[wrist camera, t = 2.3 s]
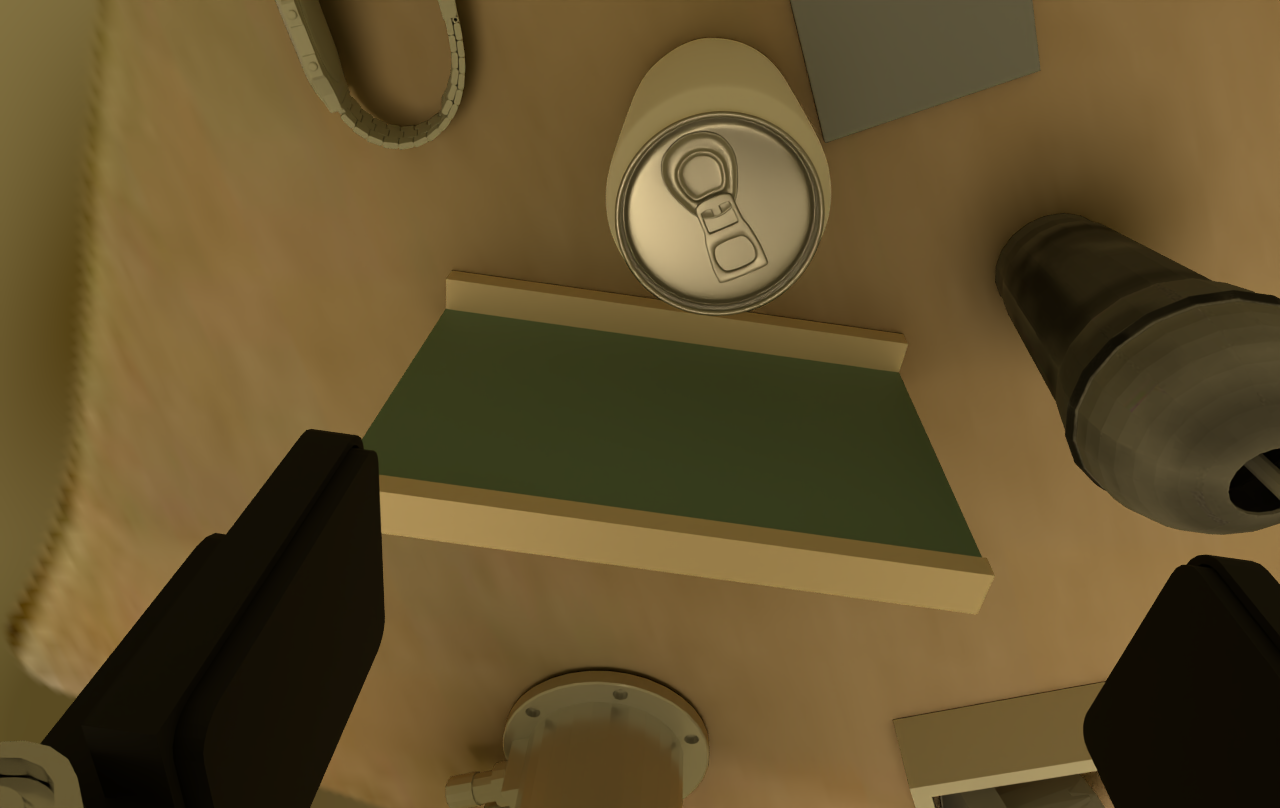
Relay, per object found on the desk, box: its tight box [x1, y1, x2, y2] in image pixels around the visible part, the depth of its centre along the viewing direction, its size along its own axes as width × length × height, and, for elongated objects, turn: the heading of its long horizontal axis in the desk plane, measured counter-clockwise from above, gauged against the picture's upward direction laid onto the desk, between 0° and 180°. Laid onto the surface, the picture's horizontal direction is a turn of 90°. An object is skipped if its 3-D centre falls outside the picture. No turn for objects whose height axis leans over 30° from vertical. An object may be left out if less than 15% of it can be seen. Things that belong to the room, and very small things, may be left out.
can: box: [606, 38, 831, 316], centre depth 27 cm, size 6×6×12 cm
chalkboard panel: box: [362, 271, 995, 615], centre depth 31 cm, size 20×4×14 cm, turn 83°
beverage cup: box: [995, 213, 1280, 535], centre depth 26 cm, size 7×7×20 cm
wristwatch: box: [275, 0, 465, 150], centre depth 29 cm, size 9×6×5 cm
